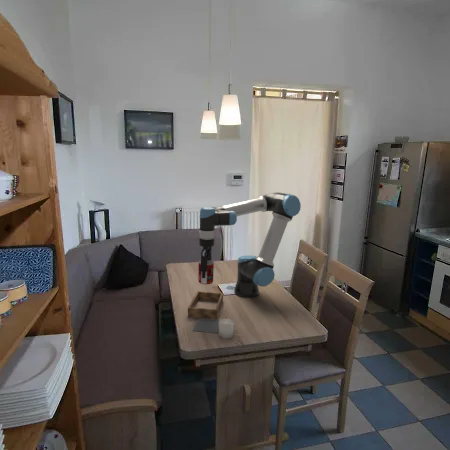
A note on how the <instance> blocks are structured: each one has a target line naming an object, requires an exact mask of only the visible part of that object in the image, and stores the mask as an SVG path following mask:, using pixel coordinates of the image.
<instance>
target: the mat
mask: <svg viewBox="0 0 450 450" xmlns="http://www.w3.org/2000/svg"><path fill="white" fill-rule="evenodd" d="M220 320H221V319H217V320H216V319H204V318H196V322H195V324H194V326H193V328H192V332H199V333H211V334H219V321H220Z"/></svg>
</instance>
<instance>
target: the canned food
mask: <svg viewBox="0 0 450 450" xmlns="http://www.w3.org/2000/svg"><path fill="white" fill-rule="evenodd" d="M214 265H215V263H214V260H212V259H211V260H208V261H207V284H206V285H210V284H211V285H212V284H213V282H214V272H215V271H214V269H215V267H214ZM200 268H201V259H200V260H199V261H198V270H197V271H198V277H197V278H198V283H199V284H201V272H200Z"/></svg>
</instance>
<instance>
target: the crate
mask: <svg viewBox="0 0 450 450" xmlns="http://www.w3.org/2000/svg"><path fill="white" fill-rule="evenodd" d="M199 301H204V302H216V303H217V304H216V307H215V308H202V307H197V305H198V303H199ZM223 303H224V293H223V292H213V291H196V293H195V295H194V296H193V298H192V300H191V302H190V303H189V306H188V307H187V318H192V319H194V318H195V319H198V318H201V319H213V320H218V317H219V316H220V315H219V314H220V311H221V308H222V306H223Z"/></svg>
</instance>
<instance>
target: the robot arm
mask: <svg viewBox="0 0 450 450" xmlns="http://www.w3.org/2000/svg"><path fill="white" fill-rule="evenodd" d="M301 205H302V204H301V202H300V199H299V197H298V196H296V195H294V194H291V193H283V192H272V193H268V194H264V195H259V196H258V198H253V199H249V200H244V201H238V202H234V203H231V204H226V205H221V206H216V207H215V206H209V207H208V206H206V207H201V208H200V210H199V211H200V212H199V231H198V233H199V238H198V239H199V243H198V244H199V246H200V247H202V249H201V252H200V256H201V257H200V260H201V268H200V272H201V283H200V284H201V285H208V284H207V261H208V260H212V247H214V246H215V227H221V226H224V227H225V226H229V227H230V226H235V225H236V223H237V221H238V218H237V217H240V216H243V215H249V214H252V213H258V212H262V213H265V212H272V220H271V223H270V225H269V229H268V230H267V234H266V236H265V237H264V238H265V239H264V242H263V244H262V246H261V248H260V252H259V253H258V256H256V255H242V256H239V257H238V258H237V279H236V283H235V286H234V287H233V288H234V289H233V291H234V292H235V293H234V295H236V296H238V297H242V298H254V297H257V296H258V295H259V293H260V289H259V287H268V286H269V285H271V283H272V282H273V281H274V280H275V275H276V274H275V271H274V267H275V264H274V259H275V257H276V255H277V252H278V250H279V246H280V244H281V241H282V239H283V236H284V233H285V231H286V228H287V226H288V223H289V222H291V221H292V220H293V218H294V217H295V216H297V215H299V213H300V211H301V207H302V206H301Z"/></svg>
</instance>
